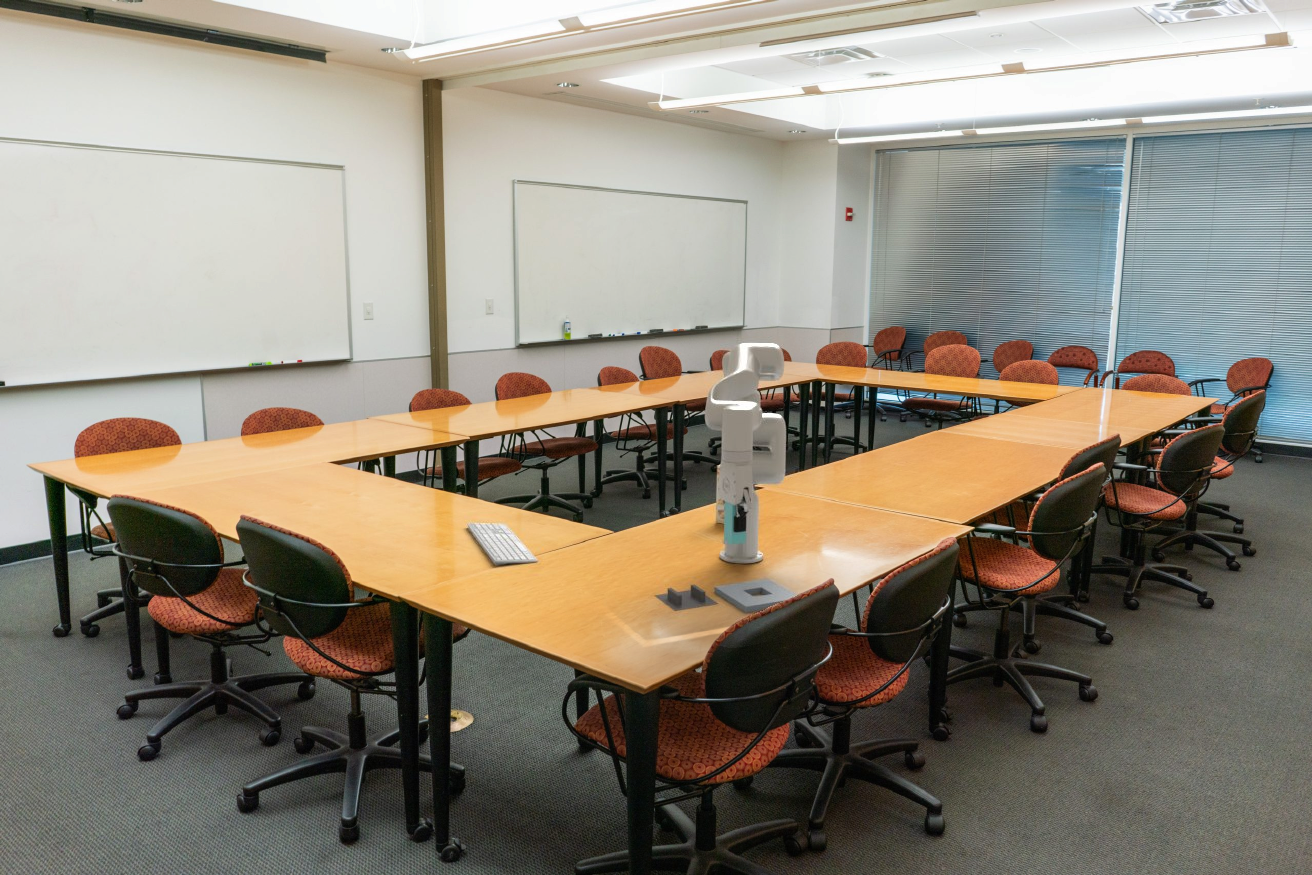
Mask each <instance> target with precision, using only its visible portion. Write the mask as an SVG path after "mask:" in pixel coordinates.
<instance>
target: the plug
mask: <svg viewBox="0 0 1312 875" xmlns="http://www.w3.org/2000/svg"><path fill="white" fill-rule="evenodd" d="M740 503H743V501H741V502H740ZM741 507H743V506H739V510H740V508H741ZM734 516H736V515H735V505H732V504H730V503H728V502H726V501H725V515H724V524H723V525H724V527H723V540H725V541H727V542H728V543H730V544H738V543H746V531H744V532H734ZM746 517H747V516H746Z"/></svg>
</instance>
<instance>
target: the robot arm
mask: <svg viewBox="0 0 1312 875" xmlns="http://www.w3.org/2000/svg"><path fill="white" fill-rule="evenodd" d="M784 357H785V356H784V352H783V349H782V348H781V347H780V345H778V344H776V343H768V342H767V343H766V342H765V343H764V342H763V343H761V342H759V343H758V342H743V343H738V344H736V345H734V347H732V349H731V350H730V351H728V352H726V353H725V354H723V356H722V362H721V365H722V373H723V378H721V379H720V380H718V381H717V382H716V383H714V385H713V386H712V387H711V388H710V389H709V391H708V393H707V396H706V404H705V410H704V420H705V425H706V426H707V427H708V428H709V429H710V430H712V431H721V458H720V460H721V461H720V464H721V465H720V464H719V465H720V471H719V482H718V496H719V498H720V499H722V500H723V502H724V510H725V501H726V502H728V503H730V504H732V505H735V515H736V516H734V532H744V531H746V543H738V544H730V543H728V542H727V541H725V540H724V539H721V540H722V541H721V543H722V544H723V545H724V549H722V550H721V551H720V552H719V558H720V559H721V560H723V561H724V562H727V563H732V564H755V563H758V562H760V561H762V560H763V559H764V554H763V552H762V551H760V550H758V548H759V521H760V517H759V515H760V500H759V496H758V494H757V492H756V491H755V489H754V485H768V486H769V485H772V486H773V485H774V486H776V485H779V484H782V483H783V481H784V479H785V476H786V462H787V461H786V457H787V456H786V453H787V450H786V449H787V448H786V447H787V444H786V443H787V426H786V421H785V419H784V417H783V416H782V415H781V414H778V413H769V412H767V413H766V412H763V409H762V407H761V395H760V392H759V391H758V388H759V384H760V382H762V381H764V382H765V381H766V382H767V381H768V382H769V381H770V382H776V381H779V380H780V379H781V378H782V377H783V374H784V371H785V358H784ZM753 447H767V448H768V449H769V450H754V449H753ZM741 501H743V503H740V502H741ZM739 506H743V507H741V508H740V510H739ZM746 516H747V517H746Z"/></svg>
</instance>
